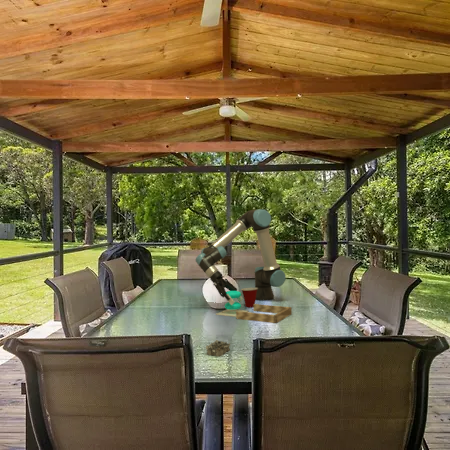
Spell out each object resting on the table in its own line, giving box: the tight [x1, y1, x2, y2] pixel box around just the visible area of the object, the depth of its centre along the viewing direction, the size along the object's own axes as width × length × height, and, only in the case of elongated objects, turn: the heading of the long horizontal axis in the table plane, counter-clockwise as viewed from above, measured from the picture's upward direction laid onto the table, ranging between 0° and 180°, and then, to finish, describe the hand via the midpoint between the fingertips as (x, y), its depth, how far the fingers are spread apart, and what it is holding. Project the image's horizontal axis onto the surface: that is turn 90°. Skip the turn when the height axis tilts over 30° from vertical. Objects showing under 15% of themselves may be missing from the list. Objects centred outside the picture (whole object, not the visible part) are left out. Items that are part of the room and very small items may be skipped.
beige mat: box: [215, 309, 249, 318], centre depth 234 cm, size 14×16×1 cm
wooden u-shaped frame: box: [235, 303, 293, 324], centre depth 224 cm, size 24×24×4 cm
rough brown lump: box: [205, 339, 231, 357], centre depth 162 cm, size 11×8×4 cm
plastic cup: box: [241, 287, 258, 308], centre depth 252 cm, size 11×11×12 cm
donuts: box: [224, 290, 242, 310], centre depth 234 cm, size 10×10×10 cm
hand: (237, 302), depth 233 cm, fingers closed on donuts, 10 cm apart
